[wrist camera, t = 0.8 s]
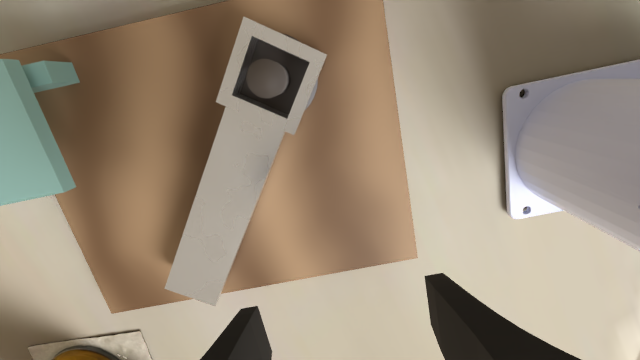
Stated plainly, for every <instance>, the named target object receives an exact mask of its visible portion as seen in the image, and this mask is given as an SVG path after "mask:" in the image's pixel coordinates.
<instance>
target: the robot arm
mask: <svg viewBox="0 0 640 360" xmlns="http://www.w3.org/2000/svg"><path fill="white" fill-rule="evenodd" d="M521 90H524V91H525V94H524V96H523V97H522V98H520V96H519V94H520V91H521ZM502 103H503V128H504V152H505V176H506V200H507V213H508V215H509V216H510V217H512V218H514V219H521V218H527V217H532V216H537V215H543V214H548V213H553V212H559V211H566V212H567V213H569V214H571V215H573V216H575V217H577V218H579V219H580V220H582V221H584V222H586V223H588V224H590V225H592V226H593V227H595V228H597V229H599V230H601V231H603V232H605V233H606V234H608V235H610V236H612V237H614V238H616V239H618V240H619V241H621V242H623V243H625V244H627V245H629V246H631V247H632V248H634V249H636V250H638V251H640V59H639V60H634V61H629V62H624V63H620V64H615V65H610V66H605V67H600V68H596V69H591V70H586V71H581V72H577V73H572V74H567V75H562V76H557V77H553V78H548V79H543V80H538V81H534V82H529V83H524V84H519V85H515V86H510V87H508V88H507V89H506V90H505V91H504V92H503V96H502ZM526 206H527V209H526V211H524V212H522V210H523V208H524V207H526ZM425 282H426V289H427V297H428V305H429V312H430V320H431V325H432V328H433V331H434V333H435V336H436V339H437V341H438V344H439V347H440V349H441V352H442V354H443V356H444V358H445V360H581V359H579V358H577V357H574V356H572V355H570V354H568V353H566V352H564V351H562V350H560V349H558V348H556V347H554V346H552V345H550V344H548V343H546V342H545V341H543V340H541V339H539V338H537V337H535V336H533V335H532V334H530V333H528V332H526V331H525V330H523V329H521V328H519V327H518V326H516V325H515V324H513V323H511V322H510V321H508V320H507V319H505V318H503V317H502V316H500V315H499V314H497V313H496V312H494V311H493V310H492V309H490V308H489V307H487V306H486V305H485V304H483V303H482V302H480V301H479V300H477V299H476V298H475V297H473V296H472V295H471V294H469V293H468V292H467V291H465V290H464V289H463V288H461V287H460V286H459V285H458V284H456V283H455V282H454V281H452V280H451V279H450V278H449V277H447V276H446V275H445V274H443V273H440V274H434V275H428V276H425ZM271 357H272V350H271V347H270V344H269V341H268V337H267V334H266V331H265V328H264V325H263V322H262V318H261V315H260V312H259V309H258V306H255V307H249V308H244V309H241V310H240V311H239V312H238V313H237V315H236V316H235V317H234V318H233V320H232V321H231V322H230V323H229V325H228V326H227V327H226V329H225V330H224V331H223V332H222V334H221V335H220V336H219V337H218V339H217V340H216V341H215V342H214V344H213V345H212V346H211V347H210V349H209V350H208V351H207V352H206V353H205V355H204V356H203V357H202V358H201V359H200V360H271Z"/></svg>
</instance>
